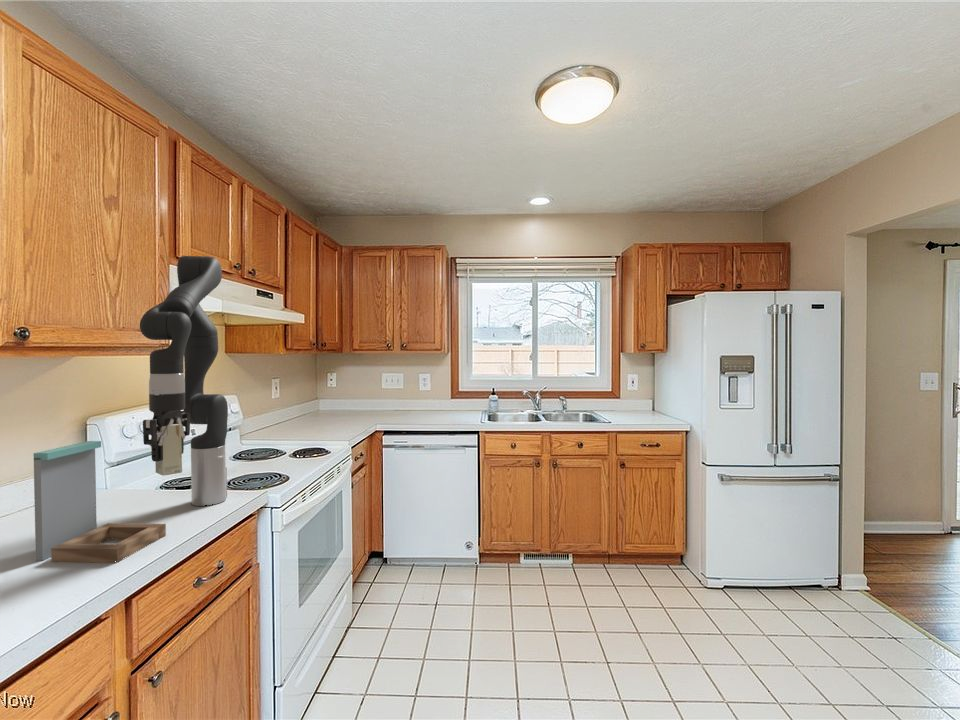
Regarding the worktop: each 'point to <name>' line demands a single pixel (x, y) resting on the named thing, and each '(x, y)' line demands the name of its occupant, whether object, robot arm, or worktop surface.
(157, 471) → the skincare box
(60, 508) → the board
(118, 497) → the worktop surface
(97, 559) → the socket block
